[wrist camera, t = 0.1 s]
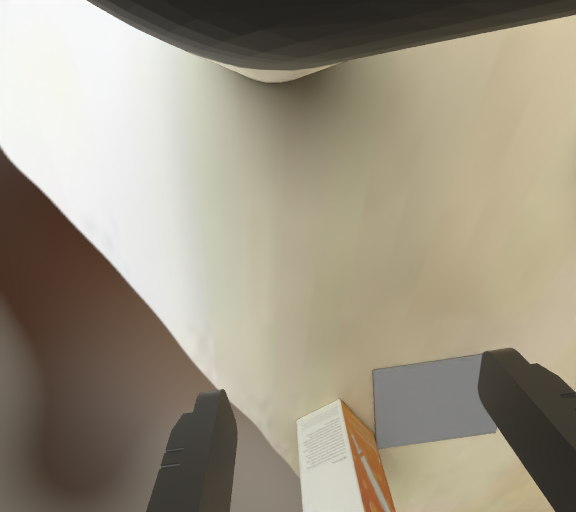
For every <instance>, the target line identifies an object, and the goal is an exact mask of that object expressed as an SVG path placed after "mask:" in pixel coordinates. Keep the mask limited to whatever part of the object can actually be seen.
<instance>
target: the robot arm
mask: <svg viewBox="0 0 576 512" xmlns="http://www.w3.org/2000/svg"><path fill="white" fill-rule="evenodd" d="M87 1H89V2H90V3H92V4H94V5H95V6H97V7H99V8H101V9H102V10H104V11H106V12H108V13H109V14H111V15H113V16H115V17H116V18H118V19H120V20H122V21H123V22H125V23H127V24H129V25H131V26H132V27H134V28H136V29H138V30H140V31H143V32H145V33H147V34H149V35H151V36H153V37H156V38H158V39H160V40H162V41H164V42H167V43H169V44H171V45H173V46H176V47H178V48H181V49H183V50H185V51H186V52H189V53H191V54H194V55H196V56H198V57H201V58H203V59H206V60H208V61H210V62H213V63H216V64H218V65H221V66H223V67H225V68H228V69H230V70H233V71H235V72H237V73H240V74H242V75H244V76H247V77H249V79H252V80H255V81H259V82H262V81H263V82H265V83H266V82H267V83H280V82H282V83H284V82H289V81H293V80H296V79H299V78H301V77H304V76H306V75H308V74H311V73H314V72H317V71H320V70H323V69H325V68H328V67H331V66H334V65H337V64H340V63H343V62H345V61H348V60H351V59H356V58H362V57H367V56H372V55H377V54H382V53H386V52H391V51H396V50H401V49H406V48H411V47H416V46H421V45H426V44H431V43H436V42H441V41H446V40H451V39H456V38H461V37H466V36H471V35H476V34H481V33H487V32H492V31H497V30H502V29H507V28H512V27H517V26H522V25H527V24H532V23H537V22H542V21H547V20H552V19H557V18H562V17H567V16H571V15H576V0H87ZM478 394H479V398H480V400H481V403H482V405H483V406H484V408H485V410H486V411H487V413H488V414H489V415H490V417H491V418H492V420H493V421H494V423H495V424H496V426H497V427H498V429H499V430H500V432H501V433H502V434H503V436H504V437H505V439H506V440H507V442H508V443H509V445H510V446H511V448H512V449H513V450H514V452H515V453H516V455H517V456H518V458H519V459H520V461H521V462H522V464H523V465H524V467H525V468H526V469H527V471H528V472H529V474H530V475H531V477H532V478H533V480H534V481H535V483H536V484H537V485H538V487H539V488H540V490H541V491H542V493H543V494H544V496H545V497H546V499H547V500H548V502H549V503H550V504H551V506H552V507H553V509H554V510H555V512H576V392H575V391H574V390H573V389H571V388H570V387H569V386H568V385H567V384H566V383H565V382H564V381H563V380H562V379H561V378H560V377H559V376H558V375H556V374H554V373H552V372H551V371H549V370H547V369H546V368H544V367H542V366H541V365H539V364H537V363H536V364H529V363H528V362H527V361H526V359H525V358H524V357H523V356H522V355H521V354H520V353H519V352H518V351H516V350H515V349H513V348H506V349H499V350H492V351H486V352H484V353H483V354H482V359H481V366H480V373H479V379H478ZM236 448H237V425H236V420H235V417H234V414H233V411H232V409H231V406H230V403H229V400H228V397H227V394H226V392H225V390H224V389H221V390H215V391H208V392H201V393H199V395H198V396H197V400H196V404H195V407H194V411H193V413H186V414H183V415H182V416H181V418H180V419H179V421H178V422H177V423H176V425H175V426H174V428H173V429H172V431H171V434H170V437H169V440H168V444H167V447H166V453H165V454H164V456H163V460H162V463H161V469H160V470H159V472H158V476H157V479H156V482H155V485H154V488H153V492H152V495H151V498H150V501H149V504H148V508H147V511H146V512H230V503H231V494H232V485H233V475H234V466H235V457H236Z"/></svg>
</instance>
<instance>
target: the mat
mask: <svg viewBox="0 0 576 512" xmlns="http://www.w3.org/2000/svg"><path fill="white" fill-rule="evenodd" d="M481 359H482V354H479V355H472V356H466V357H459V358H452V359H445V360H438V361H432V362H425V363H418V364H411V365H404V366H398V367H391V368H384V369H377V370H373V387H374V410H375V433H376V445H377V448H378V449H382V448H390V447H397V446H404V445H411V444H418V443H426V442H433V441H440V440H447V439H455V438H462V437H469V436H476V435H483V434H491V433H496V429H497V426H496V424H495V423H494V421H493V420H492V418H491V417H490V415H489V414H488V413H487V411H486V410H485V408H484V406H483V405H482V403H481V400H480V398H479V394H478V379H479V373H480V366H481Z"/></svg>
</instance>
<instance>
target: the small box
mask: <svg viewBox="0 0 576 512" xmlns="http://www.w3.org/2000/svg"><path fill="white" fill-rule="evenodd" d="M296 425H297V438H298V451H299V465H300V479H301V492H302V506H303V512H396V511H395V508H394V504H393V501H392V497H391V494H390V490H389V487H388V483H387V480H386V477H385V473H384V470H383V466H382V463H381V459H380V455H379V452H378V448H377V445H376V442H375V438H374V435H373V432H372V431H371V430H370V429H368V428H367V427H366V426H365V425H364V424H363V423H362V422H361V421H360V420H359V419H358V418H357V417H356V416H355V415H354V414H353V413H352V411H351V410H350V409H349V408H348V407H347V406H346V405H345V404H344V403H343V402H342V401H341V400H340V399H338V400H336V401H334V402H332V403H330V404H328V405H326V406H324V407H322V408H320V409H318V410H316V411H314V412H312V413H310V414H308V415H306V416H304V417H302V418H300V419H298V420H297V421H296Z"/></svg>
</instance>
